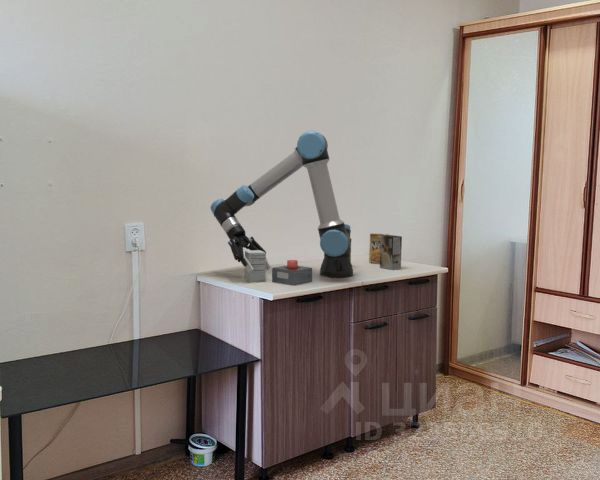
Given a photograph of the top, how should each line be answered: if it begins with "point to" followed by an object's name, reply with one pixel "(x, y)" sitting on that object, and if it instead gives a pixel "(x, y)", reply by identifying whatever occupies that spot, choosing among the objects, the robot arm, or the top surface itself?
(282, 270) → the grey button housing
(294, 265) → the button
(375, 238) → the candy box
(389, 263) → the coffee box
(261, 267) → the supplement box
